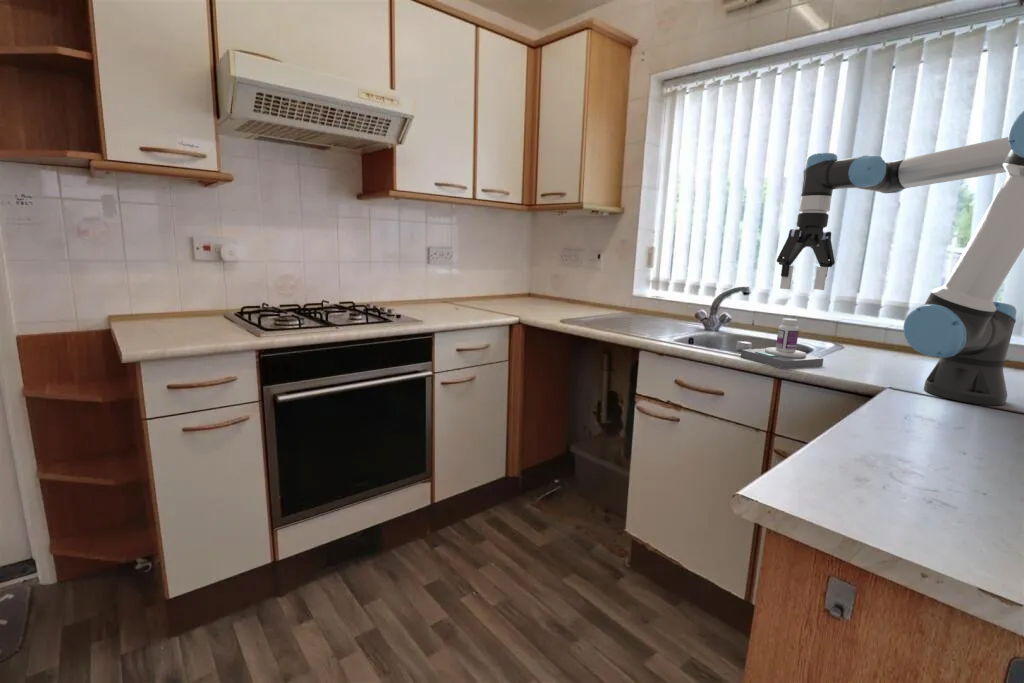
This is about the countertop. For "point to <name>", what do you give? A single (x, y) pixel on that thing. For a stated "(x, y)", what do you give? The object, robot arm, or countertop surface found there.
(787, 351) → the pill bottle
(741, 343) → the spacer
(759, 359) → the scale
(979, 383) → the robot arm
